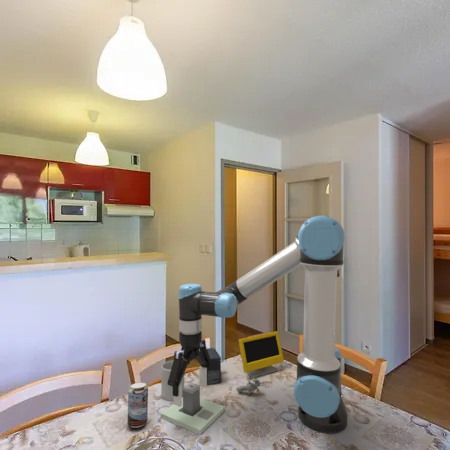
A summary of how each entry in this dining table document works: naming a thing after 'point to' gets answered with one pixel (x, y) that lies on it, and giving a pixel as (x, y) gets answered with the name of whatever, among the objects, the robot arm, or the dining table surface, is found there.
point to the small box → (214, 367)
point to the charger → (191, 399)
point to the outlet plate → (199, 420)
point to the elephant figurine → (250, 386)
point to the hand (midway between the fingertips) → (191, 395)
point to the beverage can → (137, 405)
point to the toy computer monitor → (261, 353)
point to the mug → (165, 388)
